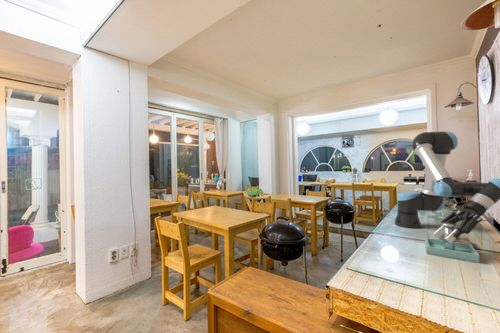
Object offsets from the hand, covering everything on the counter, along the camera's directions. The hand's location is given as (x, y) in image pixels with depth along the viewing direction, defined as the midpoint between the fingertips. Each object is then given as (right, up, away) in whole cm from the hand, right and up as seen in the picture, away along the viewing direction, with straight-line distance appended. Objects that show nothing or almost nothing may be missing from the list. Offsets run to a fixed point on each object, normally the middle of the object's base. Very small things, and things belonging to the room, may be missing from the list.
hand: (441, 238), depth 111 cm
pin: (+4, -6, 0) cm, 7 cm away
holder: (+17, -7, +12) cm, 21 cm away
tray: (+4, -7, 0) cm, 8 cm away
